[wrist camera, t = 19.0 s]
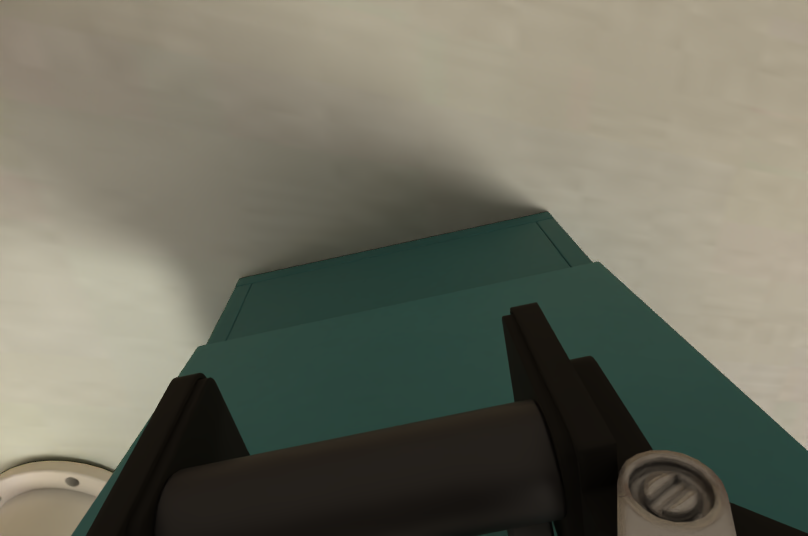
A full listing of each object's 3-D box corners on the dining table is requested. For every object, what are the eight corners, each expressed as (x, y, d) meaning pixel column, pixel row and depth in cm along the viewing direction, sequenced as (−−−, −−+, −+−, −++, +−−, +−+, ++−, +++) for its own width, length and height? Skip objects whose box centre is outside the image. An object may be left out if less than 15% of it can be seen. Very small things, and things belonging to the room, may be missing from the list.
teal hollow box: (568, 424, 36) (609, 510, 30) (317, 474, 37) (305, 567, 31) (548, 211, 29) (595, 264, 23) (239, 278, 30) (203, 347, 24)
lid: (1075, 740, 7) (1196, 441, 5) (-156, 941, 8) (-414, 742, 6) (600, 277, 23) (590, 162, 21) (203, 361, 24) (161, 257, 22)
